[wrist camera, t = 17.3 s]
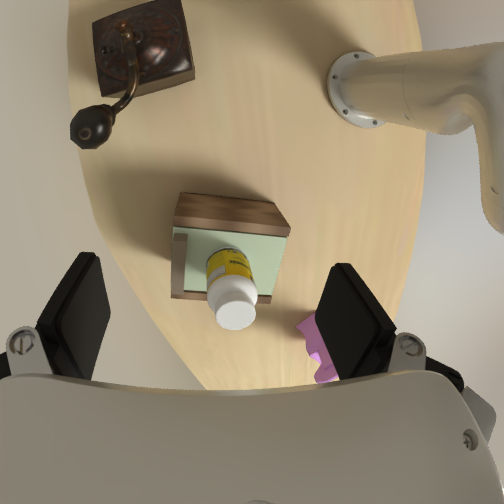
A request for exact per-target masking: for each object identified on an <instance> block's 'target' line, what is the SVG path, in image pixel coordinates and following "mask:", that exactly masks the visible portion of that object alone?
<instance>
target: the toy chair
mask: <svg viewBox="0 0 504 504" xmlns="http://www.w3.org/2000/svg"><path fill="white" fill-rule="evenodd" d="M315 313H316V312H315ZM315 313H314V314H312V315H311V316H309V317H308V318H307V319H305V320H304V321H302V322H301V323H299V324H298V325H297V326H295V327H296V328H297V329H299V330H300V331H301V332H302V333H303V335H304V337H305V340H306V350H307V352H308V354H309V356H310V357H312V358H313V359H315V360H316V361H318V362H319V363H320V364H321V365H320V367H319V369H318V370H317V371H316V373H315V375H314V378H315V381H316V382H317V383H326V382H330V381H332V380H334V379H335V378H337V377H338V374H337V372H336V369H335V367H334V365H333V362H332V360H331V358H330V355H329V353H328V351H327V348H326V346H325V344H324V341H323V339H322V337H321V334H320V332H319V330H318V327H317V325H316V323H315Z"/></svg>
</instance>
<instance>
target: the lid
mask: <svg viewBox="0 0 504 504" xmlns="http://www.w3.org/2000/svg"><path fill="white" fill-rule="evenodd" d="M286 242H287V236H280V235H270V234H260V233H250V232H240V231H230V230H220V229H209V228H198V227H186V226H175V225H173V237H172V259H171V294H176V295H184V290H193V291H207V281H206V263H207V260H208V257H209V256H210V255H211V254H212V253H213V252H214V251H215V250H217V249H219V248H222V247H235V248H238V249H240V250H241V251H242V252H244V254H245V255H246V256H247V258H248V261H249V264H250V268H251V271H252V275H253V279H254V282H255V285H256V289H257V294H261V295H272V293H273V289H274V286H275V282H276V278H277V275H278V271H279V268H280V264H281V260H282V257H283V253H284V249H285V245H286Z"/></svg>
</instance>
